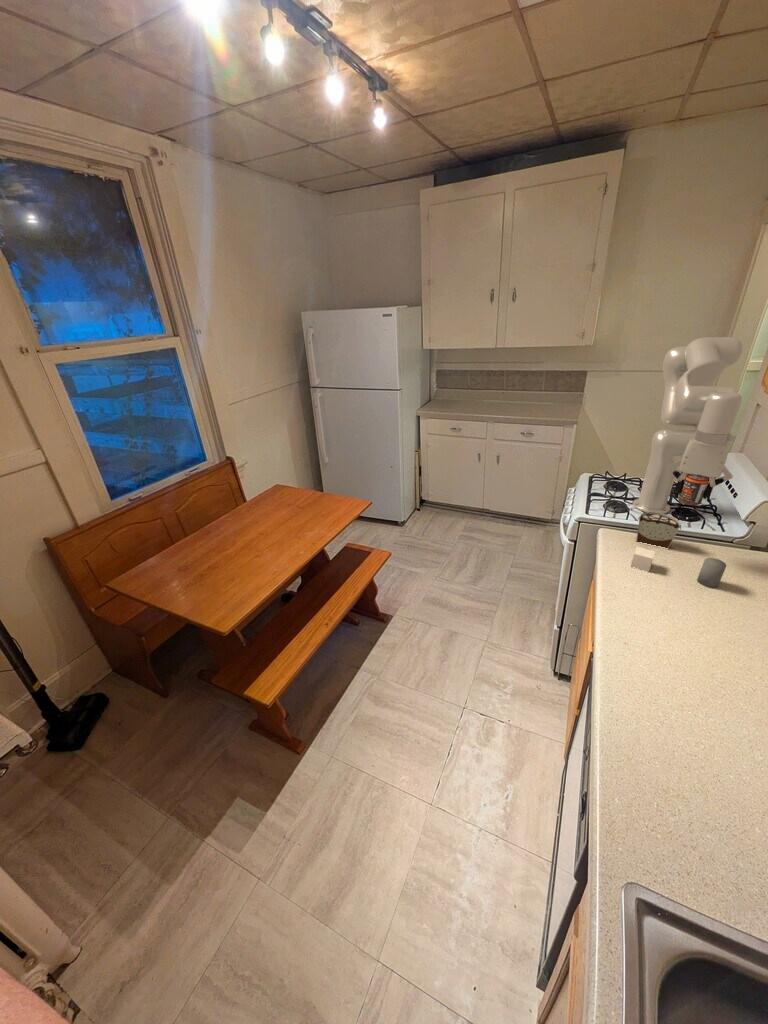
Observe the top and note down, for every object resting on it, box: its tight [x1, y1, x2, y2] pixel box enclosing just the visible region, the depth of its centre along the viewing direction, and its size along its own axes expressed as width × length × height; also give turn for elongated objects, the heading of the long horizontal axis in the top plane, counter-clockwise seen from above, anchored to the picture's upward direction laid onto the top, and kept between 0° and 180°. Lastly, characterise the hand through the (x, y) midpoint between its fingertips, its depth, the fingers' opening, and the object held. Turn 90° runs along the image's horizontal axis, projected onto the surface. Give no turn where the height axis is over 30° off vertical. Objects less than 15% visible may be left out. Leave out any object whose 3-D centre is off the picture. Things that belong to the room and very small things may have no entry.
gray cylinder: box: [696, 557, 727, 589], centre depth 117 cm, size 5×5×7 cm
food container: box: [635, 512, 682, 550], centre depth 137 cm, size 12×6×10 cm, turn 58°
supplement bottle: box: [677, 474, 710, 506], centre depth 121 cm, size 6×6×11 cm
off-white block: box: [630, 546, 656, 573], centre depth 126 cm, size 5×5×5 cm
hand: (691, 494), depth 123 cm, fingers closed on supplement bottle, 6 cm apart
